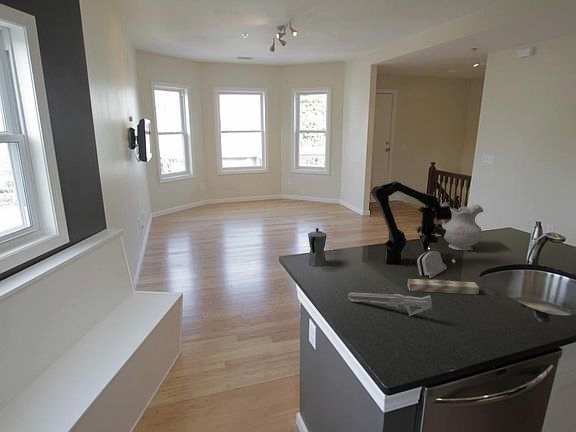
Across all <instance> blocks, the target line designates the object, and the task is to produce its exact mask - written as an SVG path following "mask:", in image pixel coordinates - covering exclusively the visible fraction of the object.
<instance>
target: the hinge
mask: <svg viewBox="0 0 576 432" xmlns="http://www.w3.org/2000/svg"><path fill="white" fill-rule="evenodd" d="M416 261H417V262H416V263H417V267H418V272H419V276H423V275H424V276H428V278H430V279H431V278H432V279H433V277H435V276H437V275H438V274H441V273H442V272H443V271H445V270H447V265H446V263H444V262H443V259H442V256H441V252H440V251H436V250H435V251H434V250H431V251H425V252H423V253H422V254H421V255H420V256H419V257H418V258H417V260H416Z"/></svg>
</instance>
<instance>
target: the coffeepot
mask: <svg viewBox="0 0 576 432" xmlns="http://www.w3.org/2000/svg"><path fill="white" fill-rule="evenodd" d="M307 236H308V244H309V248H310V249H309V252H308V253H309V254H308V258H307V260H308V261H307V262H308V265H309V266H311V265H312V266H311V267H315V266H320V267H324V266H325V265H327V260H326V254H325V248H326V243H327V236H328V235H327V233H326V232H324V231H320V228H319V227H315V231H311V232H307ZM323 265H324V266H323Z"/></svg>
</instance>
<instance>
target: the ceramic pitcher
mask: <svg viewBox="0 0 576 432" xmlns="http://www.w3.org/2000/svg"><path fill="white" fill-rule="evenodd" d="M440 206H450V210H451V213H452V217H451V219H450V220H448V222H446V220H440V222H441V223H442V224H441V225H442V228H444V229H446V230H447V231H446V233H445V235H444V240H445V241H446V242H447V243H449V244H448V248H450V249H452V250H456V251H457V250H458V251H466V252H469V251H468V250H471V251H474V249H473V247H472V246H475V245H476V244H478V242H480V240H481V239H482V236H483V230H482V228H481V226H480V225H478V224H477V222H476V217H477V215H479V214H480V213H484V209H483V207H482V206H480V205H479V204H473V205H472V206H470V207H468V206H465V205H463V206H460V207H458V209H457V208H455V207H452V206H451V205H450V202H449V201H448V202H447V201H445V202H442V204H440Z"/></svg>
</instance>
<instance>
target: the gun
mask: <svg viewBox="0 0 576 432" xmlns="http://www.w3.org/2000/svg"><path fill="white" fill-rule="evenodd" d="M347 297H348V298H347V299H348V300H349V301H350V302H352V303H361V302H365V303H366V302H368V303H371V304H381V305H386V306H387V307H396V308H397V309H405V310H407V313H408V316H409V317H411V316H413V315H416V314H419V313H422V312H425V311H426V310H431V309H432V308H433V302H432V295H425V296H423V297H418V296H417V297H416V296H410V295H404V294H399V293H394V294H392V293H390V294H388V293H369V292H351V291H350V292H349V293H348V294H347ZM412 307H417V308H416V309H413V310H412ZM418 307H419V308H418Z"/></svg>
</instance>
